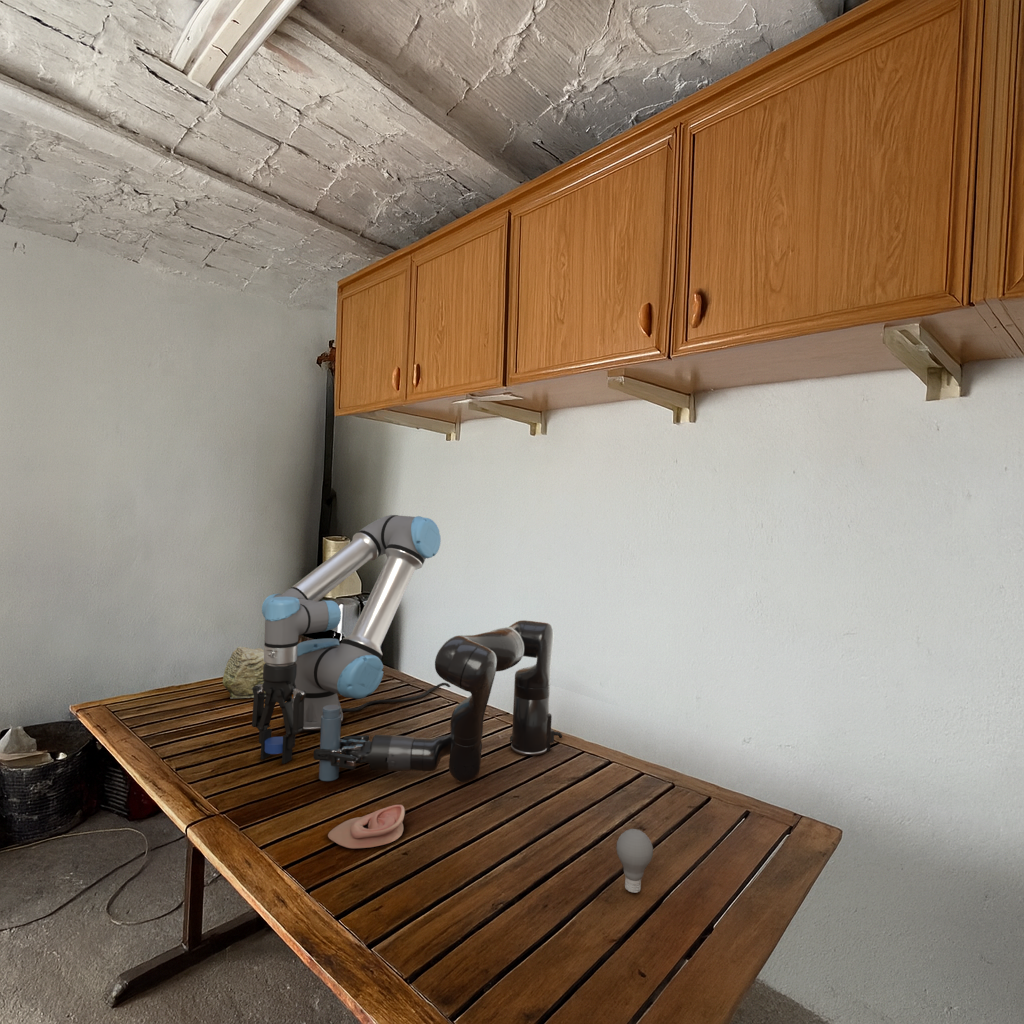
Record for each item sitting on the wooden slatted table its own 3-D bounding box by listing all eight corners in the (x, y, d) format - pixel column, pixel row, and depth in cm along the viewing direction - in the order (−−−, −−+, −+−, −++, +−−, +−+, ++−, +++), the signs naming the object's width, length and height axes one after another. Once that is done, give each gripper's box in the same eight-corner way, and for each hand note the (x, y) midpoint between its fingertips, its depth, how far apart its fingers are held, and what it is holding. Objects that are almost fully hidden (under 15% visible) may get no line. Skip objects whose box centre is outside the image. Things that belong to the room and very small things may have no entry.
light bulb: (610, 879, 108) (613, 822, 108) (644, 879, 109) (647, 822, 109) (619, 902, 102) (622, 840, 102) (655, 901, 103) (658, 840, 103)
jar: (342, 777, 143) (345, 708, 143) (324, 782, 140) (326, 711, 140) (333, 770, 146) (336, 702, 146) (315, 776, 143) (318, 706, 143)
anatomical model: (320, 822, 115) (348, 794, 127) (319, 843, 116) (348, 813, 127) (388, 833, 113) (411, 803, 124) (387, 855, 113) (410, 823, 124)
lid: (292, 748, 152) (293, 739, 152) (276, 755, 147) (276, 746, 147) (276, 743, 154) (276, 734, 154) (259, 751, 150) (259, 742, 150)
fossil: (218, 695, 195) (220, 647, 195) (278, 685, 208) (279, 640, 207) (228, 703, 189) (230, 653, 188) (289, 692, 201) (290, 645, 201)
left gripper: (237, 661, 150) (233, 759, 150) (303, 671, 144) (299, 772, 145) (258, 654, 157) (254, 747, 157) (322, 663, 152) (318, 759, 152)
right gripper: (399, 725, 150) (327, 722, 150) (387, 749, 136) (307, 745, 136) (398, 756, 150) (326, 753, 150) (385, 783, 136) (306, 780, 136)
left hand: (276, 759), depth 151 cm, fingers closed on lid, 5 cm apart
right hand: (318, 749), depth 143 cm, fingers closed on jar, 4 cm apart
